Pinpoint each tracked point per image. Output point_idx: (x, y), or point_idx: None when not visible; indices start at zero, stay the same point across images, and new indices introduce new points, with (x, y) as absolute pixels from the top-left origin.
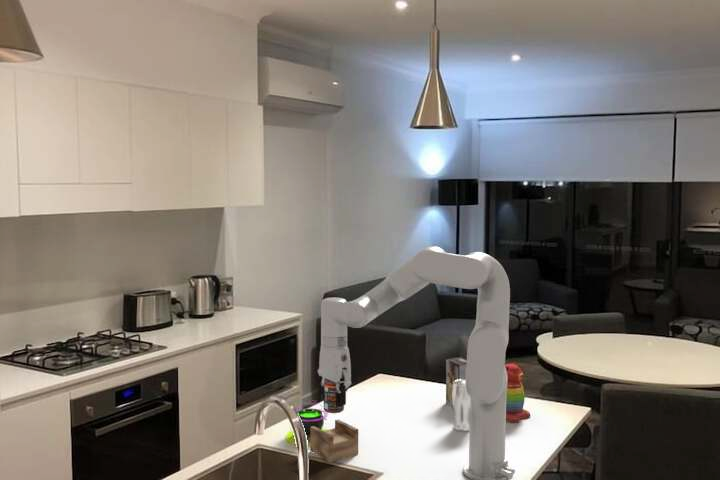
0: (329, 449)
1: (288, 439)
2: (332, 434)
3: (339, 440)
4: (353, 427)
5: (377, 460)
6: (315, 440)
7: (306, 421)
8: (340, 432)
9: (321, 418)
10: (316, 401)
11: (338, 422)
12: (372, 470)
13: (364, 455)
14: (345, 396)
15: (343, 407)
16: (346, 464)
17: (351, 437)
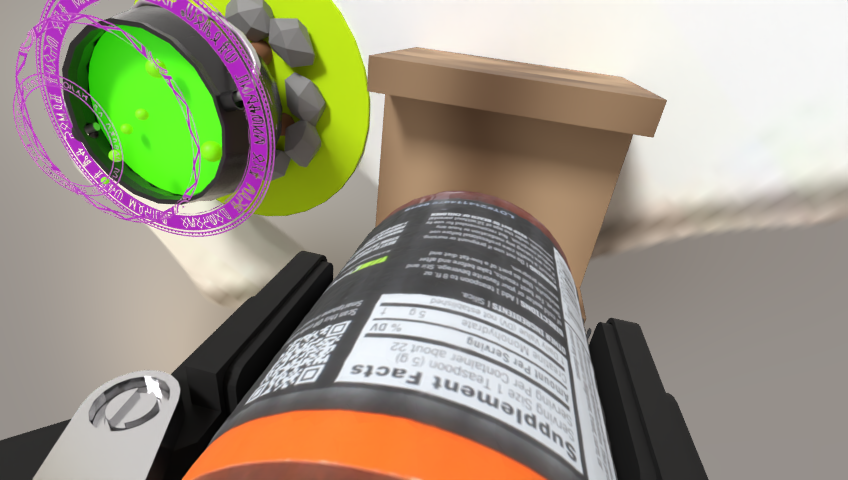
0: None
1: (229, 199)
2: (461, 180)
3: (568, 223)
4: (600, 100)
5: (794, 58)
6: None
7: (227, 189)
8: (475, 117)
9: (255, 111)
10: (69, 80)
11: (415, 97)
12: (835, 189)
13: (667, 62)
14: (668, 414)
15: (568, 269)
16: (647, 222)
17: (603, 130)
